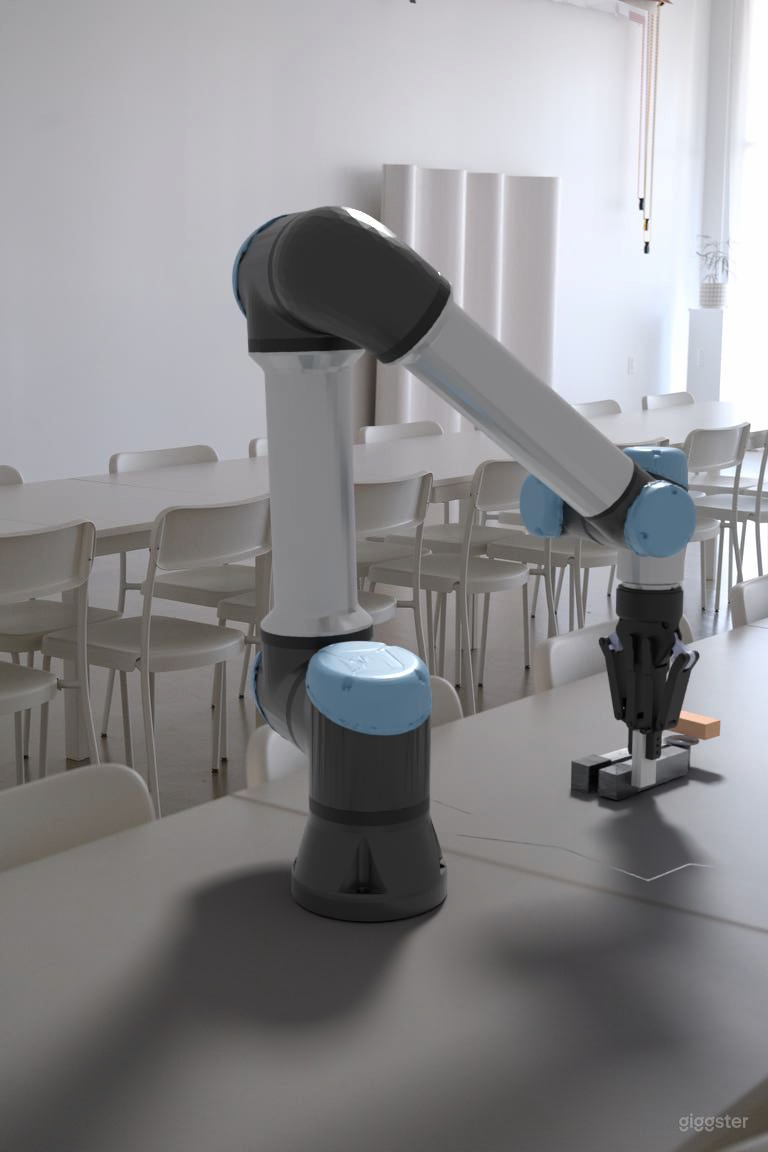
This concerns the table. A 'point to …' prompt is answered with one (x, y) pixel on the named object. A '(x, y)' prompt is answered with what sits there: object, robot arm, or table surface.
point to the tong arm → (668, 767)
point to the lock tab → (697, 726)
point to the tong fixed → (603, 766)
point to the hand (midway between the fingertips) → (643, 784)
